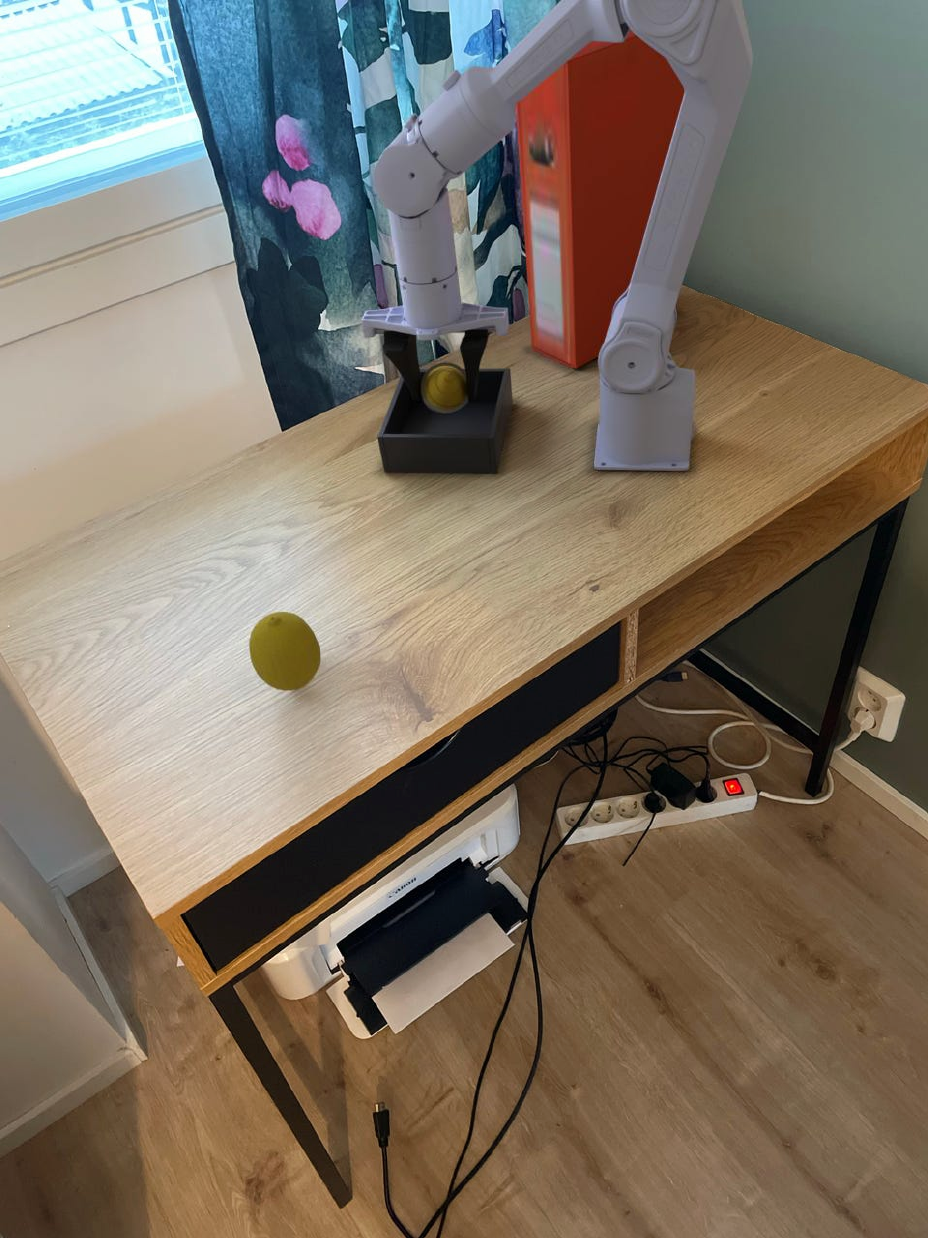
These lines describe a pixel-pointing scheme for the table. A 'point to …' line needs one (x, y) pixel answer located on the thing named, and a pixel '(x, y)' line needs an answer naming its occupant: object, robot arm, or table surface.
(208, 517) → the table surface
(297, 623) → the lemon
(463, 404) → the yellow traffic cone
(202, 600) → the table surface
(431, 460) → the bin
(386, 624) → the table surface
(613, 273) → the file binder
